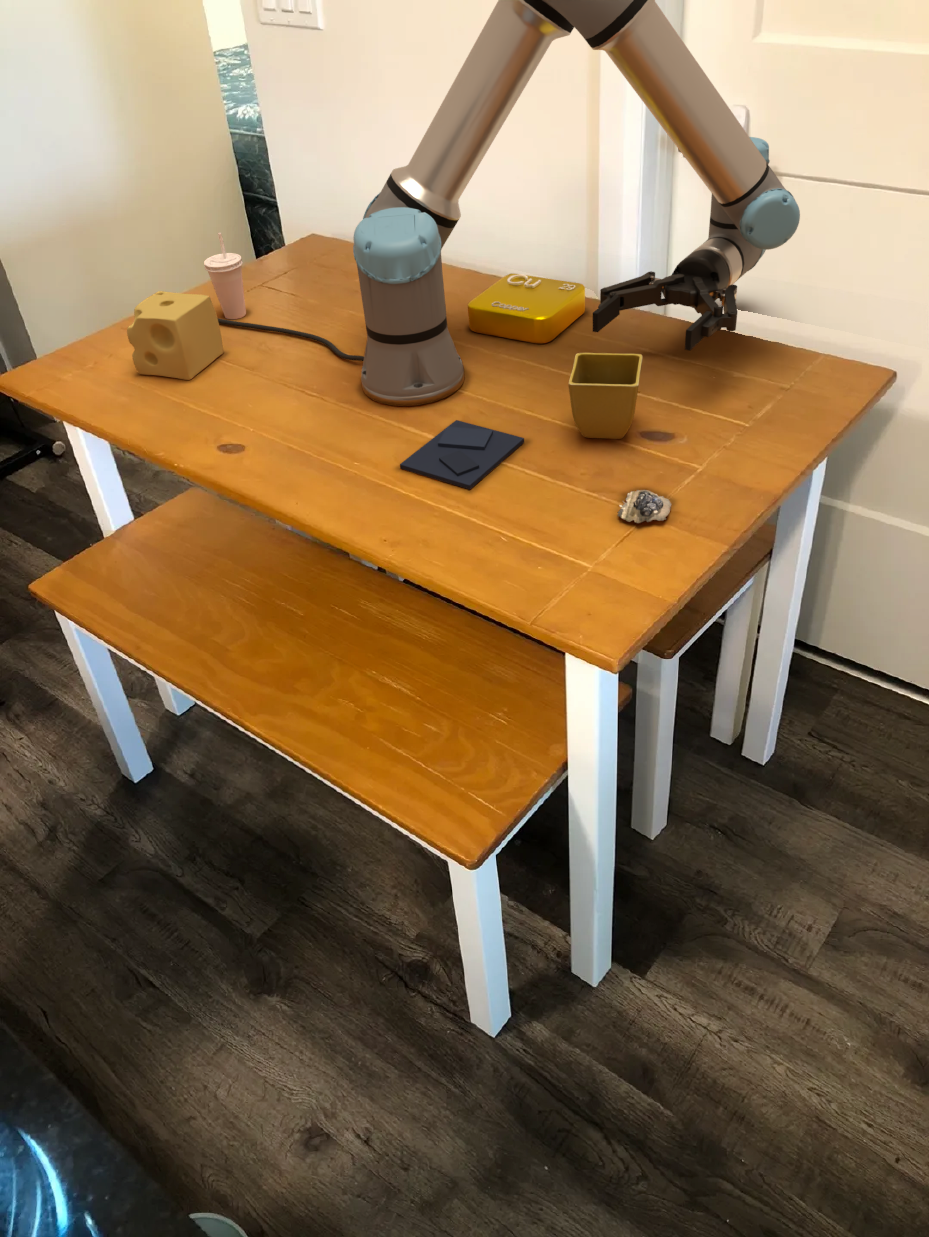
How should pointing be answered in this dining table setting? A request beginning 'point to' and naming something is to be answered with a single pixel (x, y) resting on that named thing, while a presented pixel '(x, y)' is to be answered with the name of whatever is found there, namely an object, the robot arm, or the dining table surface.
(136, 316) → the cheese
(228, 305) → the smoothie
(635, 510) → the grey mineral rock
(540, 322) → the element tile
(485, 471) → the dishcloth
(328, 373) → the dining table surface
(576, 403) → the flower pot
